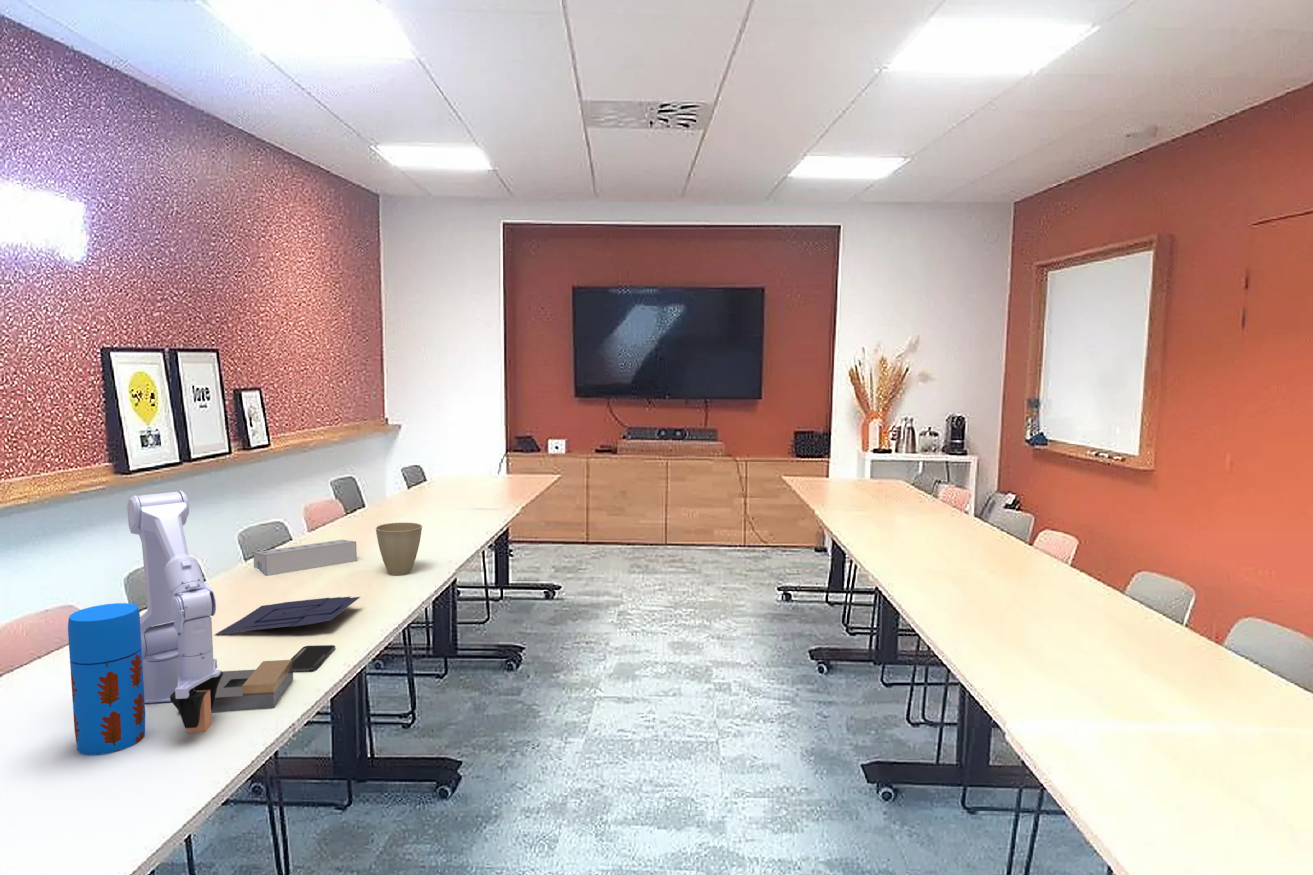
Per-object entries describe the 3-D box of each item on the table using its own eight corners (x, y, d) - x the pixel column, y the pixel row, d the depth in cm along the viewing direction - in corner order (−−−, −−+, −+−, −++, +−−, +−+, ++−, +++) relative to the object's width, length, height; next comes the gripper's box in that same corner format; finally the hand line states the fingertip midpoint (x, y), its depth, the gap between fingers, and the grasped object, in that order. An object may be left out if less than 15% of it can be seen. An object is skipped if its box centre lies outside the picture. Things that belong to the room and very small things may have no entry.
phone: (279, 669, 176) (304, 645, 191) (279, 674, 176) (304, 649, 191) (314, 669, 176) (337, 645, 191) (315, 673, 177) (337, 649, 191)
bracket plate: (178, 714, 155) (177, 690, 154) (206, 685, 169) (205, 663, 168) (273, 707, 158) (273, 684, 158) (293, 680, 172) (292, 658, 171)
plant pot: (410, 579, 251) (409, 532, 250) (368, 577, 254) (367, 530, 252) (430, 568, 266) (429, 523, 265) (390, 565, 268) (389, 521, 267)
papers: (328, 633, 198) (326, 619, 198) (215, 645, 199) (212, 631, 199) (365, 603, 223) (363, 591, 222) (263, 614, 223) (261, 602, 223)
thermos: (158, 727, 149) (152, 602, 147) (122, 755, 139) (114, 621, 136) (102, 727, 149) (94, 602, 146) (61, 755, 138) (52, 621, 136)
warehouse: (342, 554, 285) (341, 534, 284) (356, 562, 274) (356, 541, 273) (254, 568, 265) (253, 546, 264) (266, 577, 254) (265, 554, 253)
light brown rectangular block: (187, 732, 147) (185, 697, 147) (194, 725, 150) (192, 690, 150) (205, 731, 148) (203, 696, 147) (211, 723, 151) (210, 689, 150)
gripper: (203, 664, 141) (206, 734, 143) (231, 636, 156) (234, 701, 157) (161, 666, 140) (165, 737, 141) (194, 638, 154) (197, 703, 156)
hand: (199, 718), depth 149 cm, fingers open, 6 cm apart
